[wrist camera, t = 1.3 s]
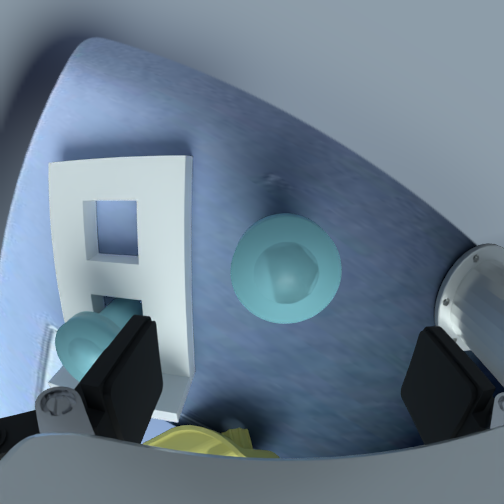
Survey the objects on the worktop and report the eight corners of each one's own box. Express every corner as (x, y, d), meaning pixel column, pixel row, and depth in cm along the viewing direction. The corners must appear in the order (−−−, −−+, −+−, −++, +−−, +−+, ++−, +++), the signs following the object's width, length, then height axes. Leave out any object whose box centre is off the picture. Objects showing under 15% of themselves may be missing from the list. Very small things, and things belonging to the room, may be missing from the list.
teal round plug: (322, 204, 27) (347, 222, 18) (315, 278, 29) (333, 325, 20) (244, 199, 27) (232, 215, 18) (241, 274, 29) (229, 320, 20)
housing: (192, 156, 26) (163, 153, 19) (195, 371, 32) (178, 422, 24) (63, 162, 27) (10, 165, 19) (84, 352, 33) (51, 391, 25)
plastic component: (197, 496, 37) (140, 491, 31) (190, 456, 42) (136, 446, 37) (298, 460, 31) (238, 459, 25) (283, 410, 37) (225, 396, 31)
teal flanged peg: (156, 284, 30) (117, 328, 21) (161, 344, 31) (130, 398, 23) (96, 278, 30) (47, 315, 21) (105, 335, 32) (65, 381, 23)
